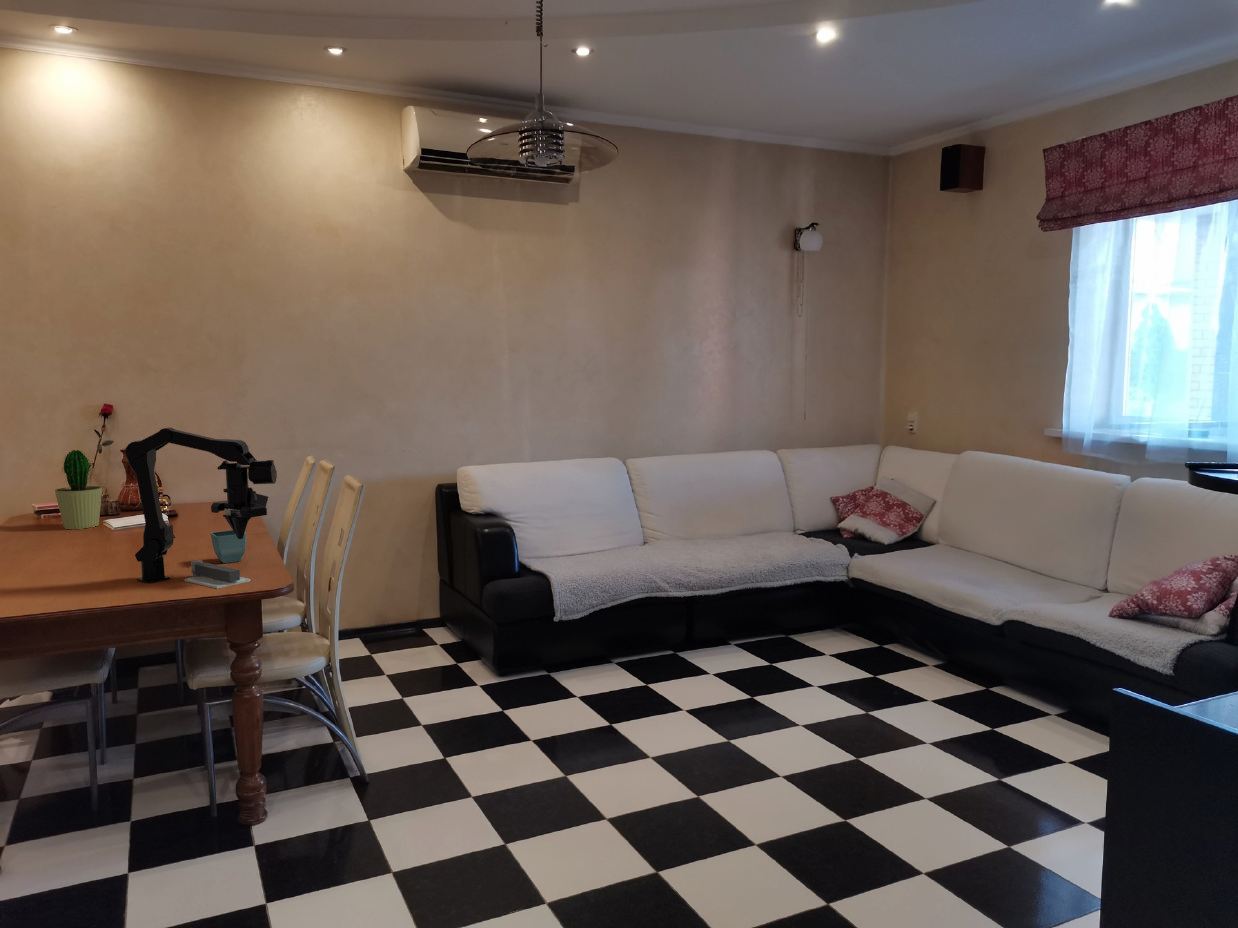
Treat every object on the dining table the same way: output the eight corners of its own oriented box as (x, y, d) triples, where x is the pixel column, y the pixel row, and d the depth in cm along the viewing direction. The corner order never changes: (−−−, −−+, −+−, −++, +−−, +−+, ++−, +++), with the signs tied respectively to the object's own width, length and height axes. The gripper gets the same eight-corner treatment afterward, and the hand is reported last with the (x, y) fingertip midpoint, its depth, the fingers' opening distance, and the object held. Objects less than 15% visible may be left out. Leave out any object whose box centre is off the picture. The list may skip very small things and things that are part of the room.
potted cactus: (113, 525, 338) (107, 447, 335) (70, 532, 325) (64, 450, 322) (91, 522, 346) (86, 445, 343) (49, 528, 333) (43, 449, 330)
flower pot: (217, 565, 269) (216, 536, 268) (211, 560, 276) (209, 532, 275) (248, 561, 274) (246, 533, 273) (241, 556, 281) (239, 529, 280)
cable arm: (189, 572, 254) (188, 561, 254) (199, 570, 257) (198, 559, 256) (229, 581, 243) (229, 570, 243) (239, 579, 245) (239, 568, 245)
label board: (178, 579, 251) (178, 576, 251) (211, 572, 259) (211, 569, 259) (217, 588, 240) (217, 585, 240) (250, 581, 249) (250, 577, 249)
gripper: (282, 483, 253) (285, 537, 254) (243, 479, 263) (246, 531, 265) (246, 488, 244) (250, 544, 245) (208, 483, 254) (211, 537, 256)
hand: (240, 538), depth 253 cm, fingers closed
